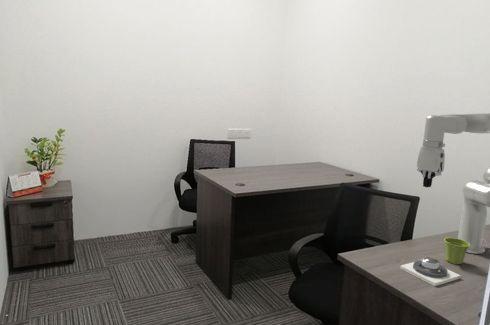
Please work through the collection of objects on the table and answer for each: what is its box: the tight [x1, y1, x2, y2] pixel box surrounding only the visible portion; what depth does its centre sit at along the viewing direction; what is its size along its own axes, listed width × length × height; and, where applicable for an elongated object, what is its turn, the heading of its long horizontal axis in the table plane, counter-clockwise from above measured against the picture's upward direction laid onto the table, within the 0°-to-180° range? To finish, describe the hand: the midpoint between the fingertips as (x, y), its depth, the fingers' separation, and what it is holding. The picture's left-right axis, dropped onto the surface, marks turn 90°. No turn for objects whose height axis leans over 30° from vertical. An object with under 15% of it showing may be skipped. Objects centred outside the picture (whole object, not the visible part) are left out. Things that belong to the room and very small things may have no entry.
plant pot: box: [443, 237, 470, 265], centre depth 152 cm, size 9×9×9 cm
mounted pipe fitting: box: [399, 259, 462, 287], centre depth 141 cm, size 15×15×2 cm
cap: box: [421, 256, 441, 272], centre depth 141 cm, size 6×6×4 cm
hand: (426, 186), depth 158 cm, fingers closed
